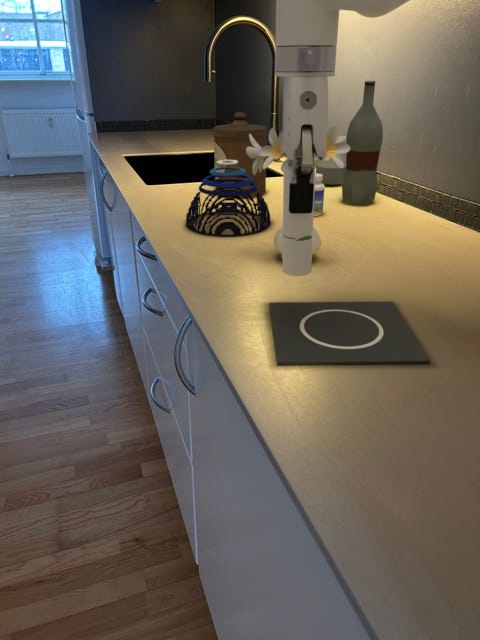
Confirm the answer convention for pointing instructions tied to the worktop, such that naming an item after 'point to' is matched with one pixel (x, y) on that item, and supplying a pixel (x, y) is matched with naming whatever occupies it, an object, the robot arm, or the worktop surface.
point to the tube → (296, 234)
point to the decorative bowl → (228, 204)
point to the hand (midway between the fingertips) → (298, 206)
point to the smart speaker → (332, 168)
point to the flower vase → (277, 153)
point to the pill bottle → (318, 195)
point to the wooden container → (239, 151)
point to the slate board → (342, 334)
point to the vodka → (363, 152)
